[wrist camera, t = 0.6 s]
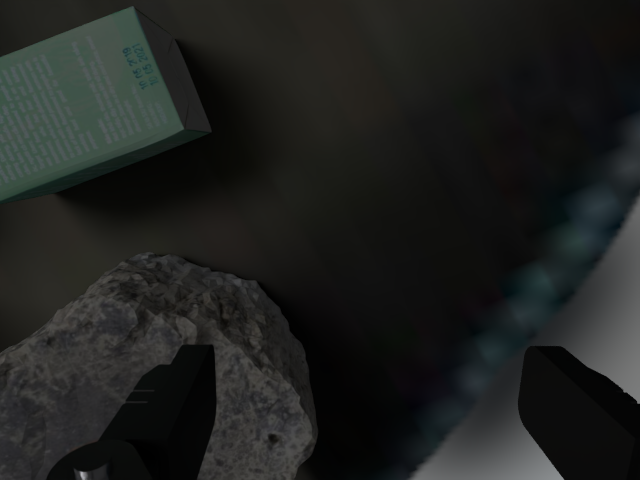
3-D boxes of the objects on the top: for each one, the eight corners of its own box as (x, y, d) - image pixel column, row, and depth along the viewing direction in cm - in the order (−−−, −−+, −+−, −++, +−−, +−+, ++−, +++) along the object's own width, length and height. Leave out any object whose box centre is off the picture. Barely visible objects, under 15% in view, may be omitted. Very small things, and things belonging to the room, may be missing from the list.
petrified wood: (341, 342, 36) (366, 475, 21) (212, 481, 38) (154, 687, 24) (158, 195, 33) (41, 231, 18) (29, 355, 35) (-166, 501, 21)
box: (1, 102, 31) (-91, 88, 24) (174, 34, 31) (134, -1, 24) (49, 197, 33) (-23, 211, 26) (215, 133, 32) (189, 129, 25)
